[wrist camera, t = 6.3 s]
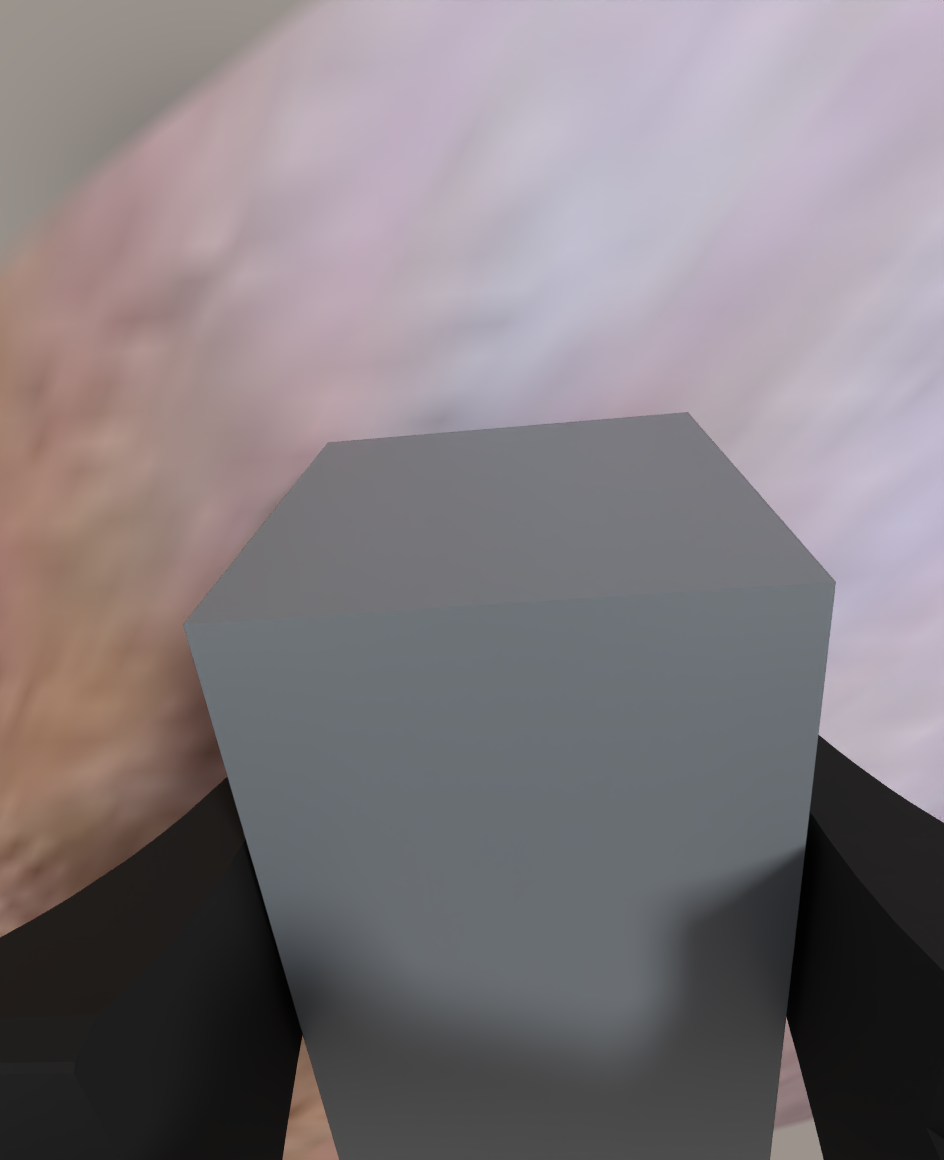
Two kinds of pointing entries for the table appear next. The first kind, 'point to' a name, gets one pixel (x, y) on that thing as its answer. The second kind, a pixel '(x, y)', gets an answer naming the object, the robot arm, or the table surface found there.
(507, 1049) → the gray block
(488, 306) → the table surface
